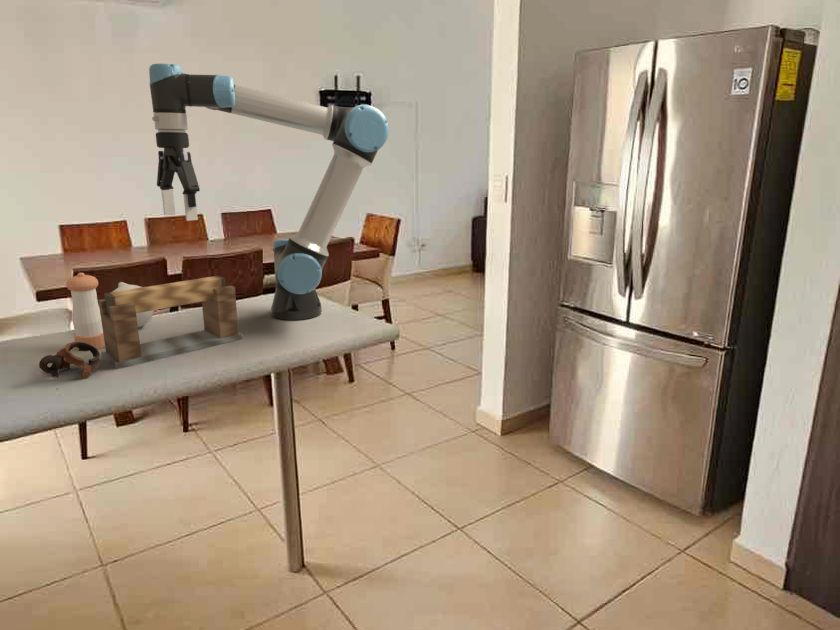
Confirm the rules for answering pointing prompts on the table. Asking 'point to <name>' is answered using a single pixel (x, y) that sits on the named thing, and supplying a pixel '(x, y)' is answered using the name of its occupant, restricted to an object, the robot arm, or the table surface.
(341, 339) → the table surface
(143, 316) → the cat head
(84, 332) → the pepper shaker
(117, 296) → the bed rail
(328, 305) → the table surface
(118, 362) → the wooden u-shaped stand
